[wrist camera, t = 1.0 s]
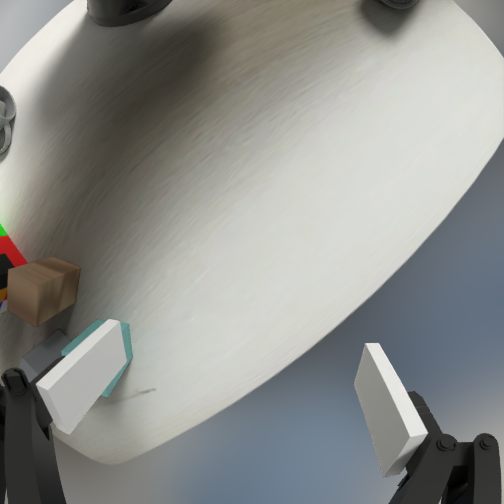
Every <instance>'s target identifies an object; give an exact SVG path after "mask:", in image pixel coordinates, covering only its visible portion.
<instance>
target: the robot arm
mask: <svg viewBox="0 0 504 504" xmlns="http://www.w3.org/2000/svg"><path fill="white" fill-rule="evenodd" d="M170 1H171V0H87V10H88V13H89V14H90V16H91V17H92V19H93V20H94V21H95V22H96V23H97V24H99V25H102V26H109V27H113V26H122V25H126V24H130V23H133V22H136V21H139V20H141V19H144V18H146V17H148V16H150V15H152V14H154V13H156V12H157V11H159V10H160V9H162V8H163V7H164V6H166V5H167V4H168V3H169V2H170ZM126 362H127V359H126V354H125V348H124V343H123V337H122V331H121V325H120V321H116V320H111V319H108V320H107V321H106V322H105V323H104V324H102V325H101V326H100V327H99V328H98V329H97V330H95V331H94V332H93V333H92V334H91V335H90V336H89V337H87V338H86V339H85V340H84V341H83V342H82V343H81V344H79V345H78V346H77V347H76V348H75V349H74V350H73V351H71V352H70V353H69V354H68V355H67V356H65V355H64V356H62V357H60V358H57V359H56V360H54V361H53V362H52V363H51V364H50V366H48V367H47V368H45V370H43V371H42V372H41V373H40V374H39V375H38V376H37V377H35V378H34V379H33V380H32V381H31V382H30V383H29V381H28V379H27V377H26V374H25V372H24V371H23V370H22V369H20V368H10V369H8V370H6V371H5V372H4V373H3V374H2V376H1V378H2V380H3V383H4V385H5V387H3V386H1V384H0V504H4V501H5V493H6V488H7V497H8V504H66V500H65V497H64V493H63V489H62V485H61V481H60V477H59V472H58V467H57V462H56V456H55V450H54V443H53V437H52V429H51V426H50V425H49V424H50V423H51V422H52V421H53V422H54V424H55V425H56V427H57V429H59V430H60V431H62V432H64V433H66V434H68V435H70V434H71V432H72V431H73V430H74V429H75V427H76V426H77V425H78V423H79V422H80V421H81V419H82V418H83V417H84V416H85V414H86V413H87V412H88V410H89V409H90V408H91V406H92V405H93V404H94V403H95V401H96V400H97V399H98V397H99V396H100V395H101V394H102V392H103V391H104V390H105V389H106V387H107V386H108V385H109V384H110V382H111V381H112V380H113V379H114V377H115V376H116V375H117V374H118V372H119V371H120V370H121V369H122V367H123V366H124V365H125V364H126ZM354 386H355V389H356V392H357V395H358V398H359V401H360V404H361V407H362V410H363V413H364V416H365V419H366V422H367V426H368V429H369V432H370V435H371V438H372V442H373V445H374V448H375V451H376V455H377V458H378V462H379V465H380V469H381V472H382V476H383V477H388V476H393V475H398V474H400V472H401V471H402V470H403V469H404V467H406V470H407V475H406V476H405V477H404V478H403V479H402V481H401V482H400V483H399V485H398V486H399V488H398V489H397V491H396V493H395V494H394V496H393V497H392V499H391V501H390V502H389V504H438V503H439V501H440V499H441V497H442V499H441V504H501V469H500V456H499V447H498V442H497V440H496V439H495V437H494V436H492V435H490V434H486V433H483V434H480V435H478V436H477V437H476V438H475V440H474V441H473V442H457V440H456V439H455V438H454V437H453V436H451V435H449V434H443V433H442V432H441V430H440V428H439V426H438V424H437V422H436V420H435V419H434V417H433V415H432V414H431V413H430V410H429V408H428V407H427V405H426V403H425V401H424V400H423V398H422V397H421V396H420V395H419V394H418V393H416V392H415V391H413V392H406V390H405V388H404V387H403V385H402V383H401V381H400V380H399V378H398V376H397V374H396V372H395V371H394V369H393V367H392V365H391V364H390V362H389V360H388V359H387V357H386V355H385V353H384V352H383V350H382V348H381V347H380V345H379V343H366V344H365V347H364V351H363V354H362V358H361V361H360V365H359V368H358V372H357V375H356V379H355V382H354Z"/></svg>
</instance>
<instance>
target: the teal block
mask: <svg viewBox="0 0 504 504" xmlns="http://www.w3.org/2000/svg"><path fill="white" fill-rule="evenodd" d="M105 322H106V321H101V320H96V321H95V322H93V323H92V324H91V325H90V326H89V327H88V328H86V329H85V330H84V331H83V332H82V333H81V334H80V335H78V336H77V337H76V338H75V339H74V340H73V341H72V342H71V343H69V344H68V345H67V346H66V347H65V348H64V349H63V350H62V351H61V353H62V356H64V355H65V356H67V355H68V354H69V353H70V352H71V351H73V350H74V349H75V348H76V347H77V346H78V345H79V344H81V343H82V342H83V341H84V340H85V339H86V338H87V337H89V336H90V335H91V334H92V333H93V332H94V331H95V330H97V329H98V328H99V327H100V326H101V325H102V324H104V323H105ZM120 325H121V331H122V337H123V343H124V348H125V354H126V359H127V362H126V364H125V365H124V366H123V367H122V369H121V370H120V371H119V372H118V374H117V375H116V376H115V377H114V379H113V380H112V381H111V382H110V384H109V385H108V386H107V387H106V389H105V390H104V391H103V392H102V394H101V395H100V396H104V397H109V395H110V393H111V392H112V390H113V388H114V387H115V385H116V383H117V382H118V380H119V378H120V377H121V375H122V373H123V372H124V370H125V369H126V367H127V365H128V364H129V362H130V360H131V359H132V357H133V354H132V346H131V338H130V329H129V324H127V323H120Z"/></svg>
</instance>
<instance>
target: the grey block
mask: <svg viewBox="0 0 504 504" xmlns="http://www.w3.org/2000/svg"><path fill="white" fill-rule="evenodd" d="M71 342H72V341H71V340H70V339H69V338H67V337H66V336H65V334H64V333H63V332H62V331H61V330H60V329H58V330H57V331H56V332H54V333H53V334H52V335H50V336H49V337H48V338H46V339H45V340H44V341H43V342H41V343H40V344H39V345H37V346H36V347H35V348H34V349H32V350H31V351H30V352H28V353H27V354H26V355H25V356H23V357H22V359H21V361H20V364H19V366H18V368H20V369H22V370H23V371H24V372H25V374H26V377H27V379H28V381H29V383H30V382H31V381H32V380H33V379H34V378H35V377H37V376H38V375H39V374H40V373H41V372H42V371H43V370H45V368H47V367H48V366H50V364H51V363H52V362H53V361H54V360H56V359H57V358H60V357H62V353H61V351H62V350H63V349H64V348H65V347H66V346H67V345H68V344H69V343H71Z"/></svg>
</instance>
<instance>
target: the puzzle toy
mask: <svg viewBox="0 0 504 504" xmlns="http://www.w3.org/2000/svg"><path fill="white" fill-rule="evenodd" d="M25 264H28V263H27V262H26V260H25V259H24V258H23V256H22V255H21V253H20V252H19V251H18V249H17V248H16V247H15V245H14V244H13V242H12V241H11V239H10V238H9V236H8V235H7V233H6V232H5V230H4V229H3V227H2V226H1V224H0V314H1V313H3V312H5V311H7V288H8V269H11V268H15V267H18V266H21V265H25Z"/></svg>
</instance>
